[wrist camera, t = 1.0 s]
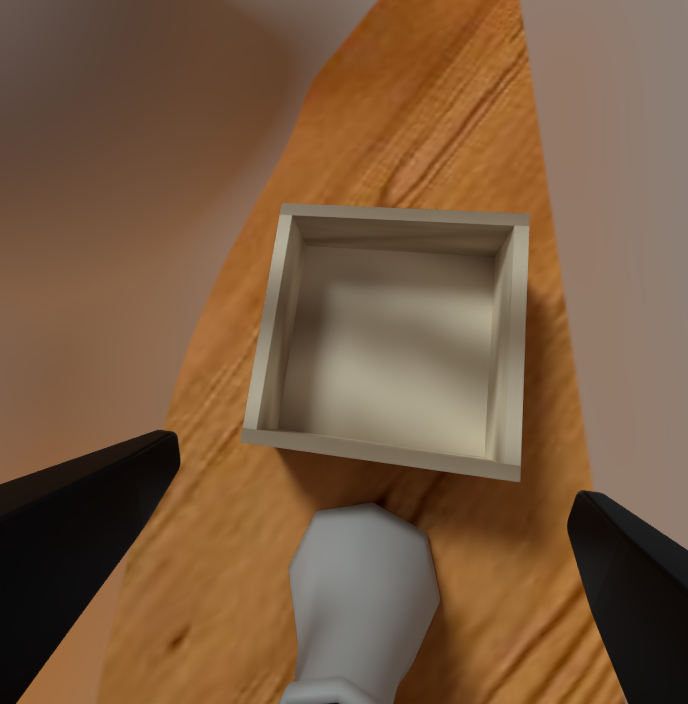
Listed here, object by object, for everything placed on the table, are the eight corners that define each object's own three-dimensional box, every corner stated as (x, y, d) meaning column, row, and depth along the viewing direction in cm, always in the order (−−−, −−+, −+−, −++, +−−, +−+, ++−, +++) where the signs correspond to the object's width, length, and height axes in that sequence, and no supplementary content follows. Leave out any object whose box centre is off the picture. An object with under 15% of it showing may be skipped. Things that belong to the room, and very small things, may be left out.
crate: (491, 470, 18) (519, 482, 14) (270, 438, 19) (240, 442, 15) (501, 255, 20) (529, 213, 16) (301, 244, 21) (281, 203, 17)
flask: (447, 515, 18) (519, 626, 8) (431, 685, 16) (492, 1075, 6) (302, 487, 19) (206, 555, 9) (276, 645, 17) (130, 928, 8)
